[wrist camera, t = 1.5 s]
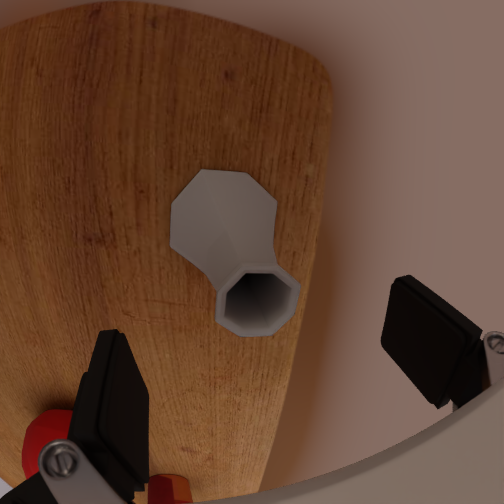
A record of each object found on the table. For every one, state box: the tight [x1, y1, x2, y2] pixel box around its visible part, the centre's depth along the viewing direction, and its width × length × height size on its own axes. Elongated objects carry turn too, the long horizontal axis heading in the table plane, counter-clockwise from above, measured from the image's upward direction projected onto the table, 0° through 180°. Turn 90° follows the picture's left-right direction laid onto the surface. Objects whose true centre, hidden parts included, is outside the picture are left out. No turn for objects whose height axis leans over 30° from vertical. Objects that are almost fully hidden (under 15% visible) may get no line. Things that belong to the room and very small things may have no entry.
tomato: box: [22, 409, 73, 479], centre depth 20 cm, size 12×12×11 cm
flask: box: [170, 169, 301, 337], centre depth 15 cm, size 7×7×10 cm
